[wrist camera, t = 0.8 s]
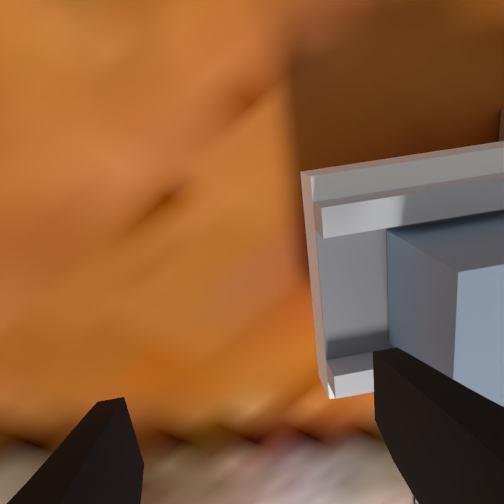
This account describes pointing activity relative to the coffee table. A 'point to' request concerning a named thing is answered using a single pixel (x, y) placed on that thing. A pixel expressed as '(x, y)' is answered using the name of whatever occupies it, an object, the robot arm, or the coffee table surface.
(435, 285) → the rider
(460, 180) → the balance beam
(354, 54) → the coffee table surface
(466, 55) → the coffee table surface
